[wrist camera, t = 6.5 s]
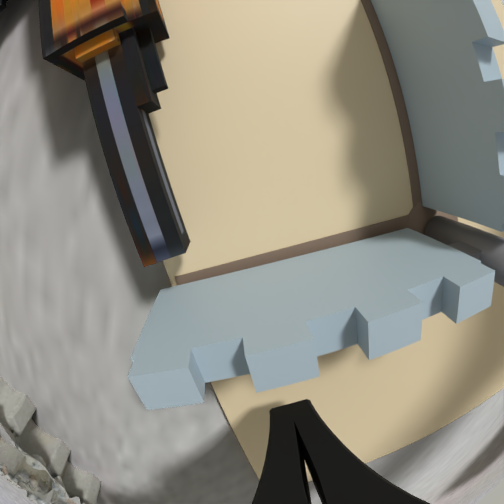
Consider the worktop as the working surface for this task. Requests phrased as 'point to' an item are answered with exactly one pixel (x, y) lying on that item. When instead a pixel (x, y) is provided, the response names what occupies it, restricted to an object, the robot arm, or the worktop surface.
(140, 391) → the fence hinged panel
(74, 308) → the worktop surface
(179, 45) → the card
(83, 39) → the toy
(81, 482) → the grey rock
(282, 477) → the robot arm
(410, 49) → the fence fixed panel
